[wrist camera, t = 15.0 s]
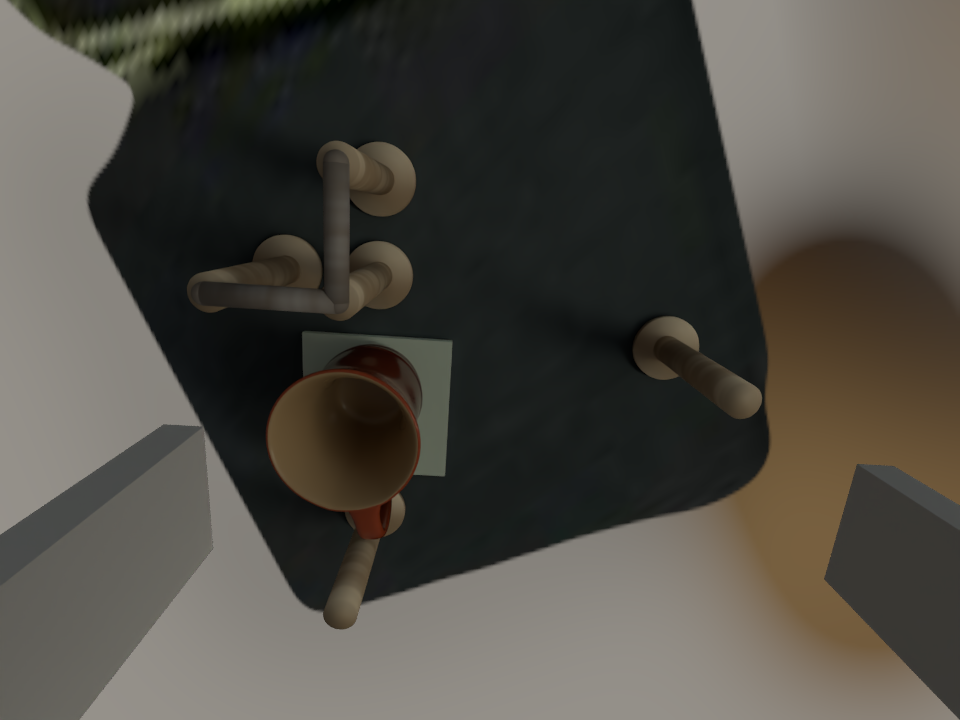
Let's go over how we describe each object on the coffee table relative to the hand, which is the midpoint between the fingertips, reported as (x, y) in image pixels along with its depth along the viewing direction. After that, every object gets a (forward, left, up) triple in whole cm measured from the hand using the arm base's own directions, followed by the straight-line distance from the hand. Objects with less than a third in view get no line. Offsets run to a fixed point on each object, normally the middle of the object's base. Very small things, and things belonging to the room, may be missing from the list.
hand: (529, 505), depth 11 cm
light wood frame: (-4, -11, -29) cm, 31 cm away
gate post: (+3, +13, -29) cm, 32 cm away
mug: (+9, -8, -28) cm, 31 cm away
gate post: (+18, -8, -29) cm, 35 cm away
